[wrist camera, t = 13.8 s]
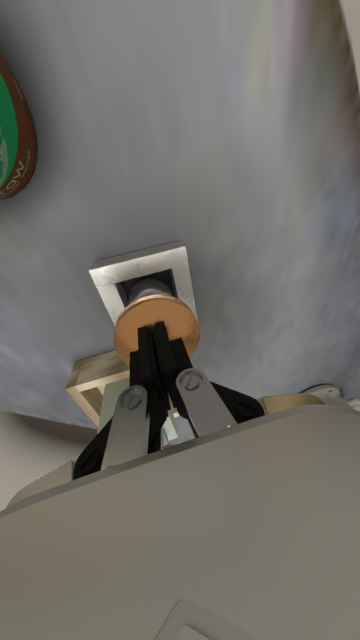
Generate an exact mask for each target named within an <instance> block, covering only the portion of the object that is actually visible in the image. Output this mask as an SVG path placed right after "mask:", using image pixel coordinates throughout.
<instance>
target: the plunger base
mask: <svg viewBox="0 0 360 640" xmlns="http://www.w3.org/2000/svg"><path fill="white" fill-rule="evenodd" d="M168 269H169V273H170V277H171V281H172V286H173V290H174V295H175V298H177V299H179V300H181V301H182V302H184V303H185V304H186V305H187V306H188V307H189V308H190V309H191V311H192V312H193V314H194V316H195V318H196V320H197V322H198V319H197V312H196V306H195V300H194V294H193V288H192V282H191V276H190V270H189V264H188V258H187V252H186V246H185V245H183V244H182V243H181V242H179V241H175V242H171V243H167V244H163V245H159V246H155V247H151V248H147V249H142V250H138V251H134V252H130V253H126V254H122V255H118V256H114V257H110V258H106V259H102V260H98V261H95V262H94V264H93V265H92V266H91V268H90V269H89V272H90V274H91V277H92V279H93V281H94V283H95V285H96V287H97V289H98V291H99V293H100V296H101V298H102V300H103V302H104V304H105V306H106V308H107V310H108V313H109V315H110V317H111V319H112V321H113V323H114V325H115V326H116V322H117V319H118V317H119V315H120V314H121V312H122V311H123V310H124V309H125V308H126V307H127V306H128V305H129V302H128V299H127V297H126V294H125V292H124V289H123V286H122V284H121V281H125V280H129V279H133V278H137V277H141V276H144V275H148V274H152V273H156V272H160V271H164V270H168Z"/></svg>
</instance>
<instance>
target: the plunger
mask: <svg viewBox="0 0 360 640" xmlns="http://www.w3.org/2000/svg"><path fill="white" fill-rule="evenodd" d="M161 321H164V323H165V326H166V330H167V333H168V337H169V340H170V341H171V340H174V339H177V338H182V340H183V343H184V345H185V348H186V351H187V353H188V356H189V357H190V356H191V355H192V353H193V352H194V351H195V349H196V347H197V345H198V342H199V338H200V328H199V324H198V322H197V320H196V318H195V316H194V314H193V312H192V311H191V309H190V308H189V307H188V306H187V305H186V304H185V303H184V302H182V301H181V300H179V299H177V298H175V297H173V295H172V293H171V291H170V289H169V287H168V286H167V285H166V284H165V283H164V282H162V281H160V280H157V279H144V280H142V281H140V282H138V283H137V284H135V285H134V287H133V288H132V289H131V292H130V295H129V305H128V306H127V307H126V308H125V309H124V310H123V311H122V312H121V314H120V315H119V317H118V319H117V322H116V326H115V333H114V346H115V349H116V352H117V354H118V355H119V357H120V358H121V359H122V360H123V361H124V362H125V363H126V364H128V365H130V352H133V351H136V350H138V332H137V328H140V327H144V326H147V328H149V327H150V328H151V331H152V333H153V336H154V331H153V326H156V323H158V322H161ZM154 339H155V337H154Z"/></svg>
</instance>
